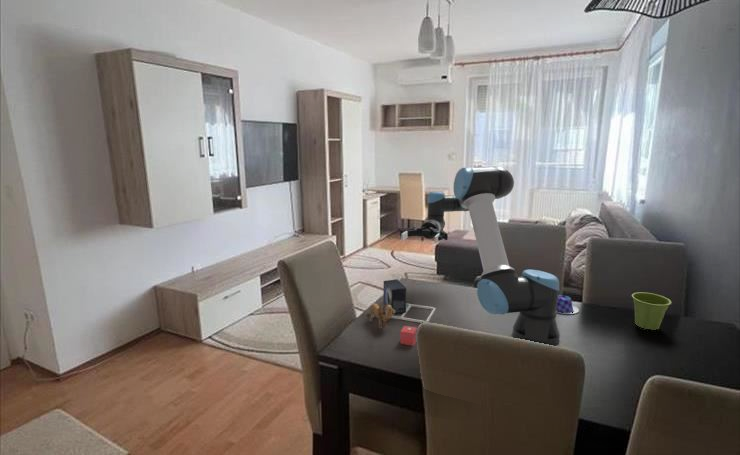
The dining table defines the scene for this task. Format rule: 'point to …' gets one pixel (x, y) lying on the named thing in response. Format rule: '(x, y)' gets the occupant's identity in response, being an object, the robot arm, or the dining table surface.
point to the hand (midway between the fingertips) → (418, 238)
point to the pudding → (565, 305)
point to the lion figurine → (381, 313)
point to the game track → (401, 316)
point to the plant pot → (649, 309)
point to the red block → (408, 335)
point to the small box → (395, 295)
